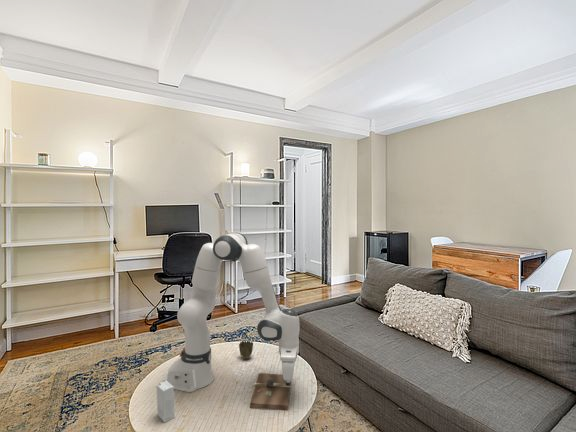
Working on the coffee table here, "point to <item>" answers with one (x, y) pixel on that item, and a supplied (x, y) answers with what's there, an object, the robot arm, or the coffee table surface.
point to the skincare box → (165, 401)
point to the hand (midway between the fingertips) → (288, 379)
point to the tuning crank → (274, 384)
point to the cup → (246, 349)
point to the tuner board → (270, 393)
